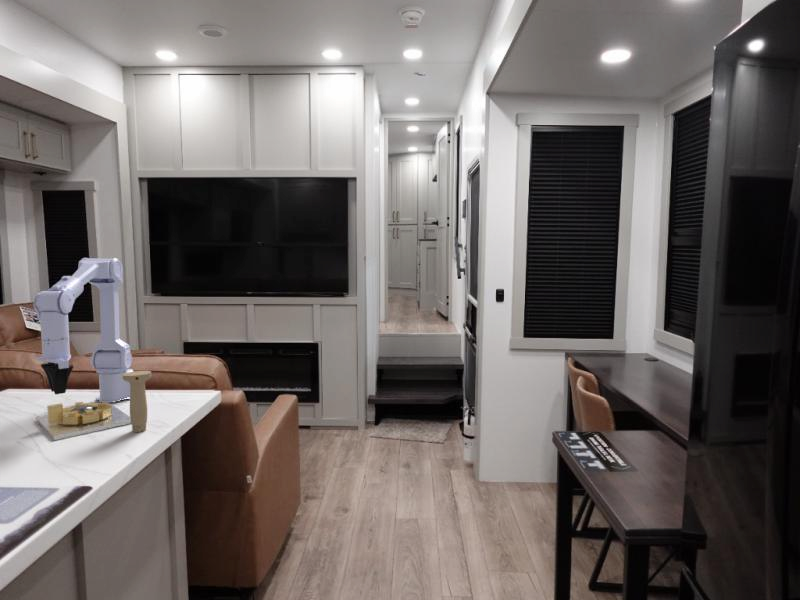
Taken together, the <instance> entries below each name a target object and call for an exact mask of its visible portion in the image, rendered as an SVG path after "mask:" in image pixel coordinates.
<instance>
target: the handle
mask: <svg viewBox="0 0 800 600" xmlns="http://www.w3.org/2000/svg"><path fill="white" fill-rule="evenodd" d="M133 371H134V370H133ZM150 378H152V371H150V370H136V371H134V372H128V373H124V374H123V380H125V381H127V382H129V383H130V399H129V416H130V419H131V430H132V432H133V433H141V432H144V431H146V430H147V423H148V403H147V394H146V393H147V392H146V381H148V380H150Z"/></svg>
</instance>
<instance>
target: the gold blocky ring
mask: <svg viewBox="0 0 800 600" xmlns="http://www.w3.org/2000/svg"><path fill="white" fill-rule="evenodd" d="M84 405H92V406H93V410H92V409H88V410H85V413H79V411H75V408H76V407H79V406H84ZM63 406H64V405H63V403H61V402H60V403H55V404H51V405H47V415H48V423H49V424H50V425H51V424H56V423H60V424H62V423H63V424H80V423H82V424H85V423H90V422H95V421H99V419H104V418H106V417H108V416H110V415H111V413H112V409H111V406H110V405H109V403H107V402H102V403H101V402H90V403H87V402H85V403H84V402H83V401H79V402H75V403H74V405H70V406H67V407H63Z"/></svg>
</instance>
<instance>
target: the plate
mask: <svg viewBox="0 0 800 600" xmlns="http://www.w3.org/2000/svg"><path fill="white" fill-rule="evenodd" d="M108 404H109V405H110V406H111V409H112V413H111V415H110V416H108V417H106V418H104V419H99V421H95V422H90V423H85V424H82V423H80V424H63V423H62V424H60V423H56V424H51V425H50V424H49V423H48V414H47V415H41V416H37V417H35V421H36V420H37V421H36V423H37V424H38V425H40V427H41V426H42V427H43V428H42V427H41V428H42V429H43V430H44V432H46V433H47V434H48V436H49V437H50V438H51V439H52V440H53V441H58V440H64V439H66V438H67V439H68V438H72V437H77V436H80V435H81V436H82V435H85V434H89V433H90V434H91V433H95V432H99V430H100V431H103V429H104V430H108V429H107V428H109V429H112V428H111V427H113V428H116V427H115V426H118V427H121V426H120V425H122V426H125V425H124V424H127V425H130V424H129V423H131V419H130V415H128V414H127V413H125V412H123V411H122V410H121V409H119V408H118V407H116V406H115V405H113V404H112V403H108ZM88 409H92V410H93V406H92V405H84V406H79V407H76V408H75V411H79V413H85V410H88Z"/></svg>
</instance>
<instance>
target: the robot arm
mask: <svg viewBox="0 0 800 600" xmlns="http://www.w3.org/2000/svg"><path fill="white" fill-rule="evenodd" d="M77 265H78V267H77V270H76V271H75V272H74V273H73V274H72V275H63V276H62V277H61V279H60V280H59V281H57V282H56V283H54V284H53V285H52V286H51V287H50V288H49V289H48V290H41V291H40V292H39V293H37V294H36V295H35V297H34V300H33V304H32V305H33V309H34V311H35V313H36V315H37V321H38V322H40V336H41V337H40V338H41V355H42V356H41V357H36V361H37V362H45V363H42V364H40V367H41V368H42V369H43V371H44V373H45V375H46V377H47V381H48V384H49V388H50V390H51V392H54V393H53V394H55V395H60V394H66V391H67V387H68V383H69V377H70V375H71V372H72V371H73V370H74V365H73V364H70V363H69V362H70V360H71V359H72V354H71V349H70V347H71V346H70V345H71V344H70V325H69V313H71V312H72V310H73V306H74V304H75V301H76V299H77V298H78V297H79V296H81V294H82V293H83V292H84V290H85V289H84V285H86V284H87V283H89V284H91V285H94V286H96V288H98V290H99V313H100V314H99V316H100V341H99V342H98V343H96V344H95V345H94V346H93V347H92V354H91V357H90V364H91V367H92V369H93V370H94V371H96V374H98V384H99V396H97V397H95V400H96V399H97V400H96V401H98V400H99V401H100V402H99V401H98V402H99V403H101V402H107V403H108V402H113V401H118V400H120V399H121V400H122V399H124V398H127V397H130V383H129V382H127V381H125V380H123V374H124V373H128V372H134V369H132V368H130V367H131V366H132V364H133V363H132V362H133V356H132V353H131V347H130V344H129V343H127V342H125V341H124V340H122V339H121V338H120V335H121V334H120V300H119V299H120V297H119V296H120V295H119V286H123V282H124V281H123V280H124V268H123V267H124V266H123V264H122V263H121V261H120V260H119V259H118V258H117V257H113V258H94V257H93V258H91V257H89V258H88V257H83V258H81V259H80V260H79V261H78V264H77ZM46 362H47V363H46ZM113 403H114V402H113ZM108 404H109V403H108Z"/></svg>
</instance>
